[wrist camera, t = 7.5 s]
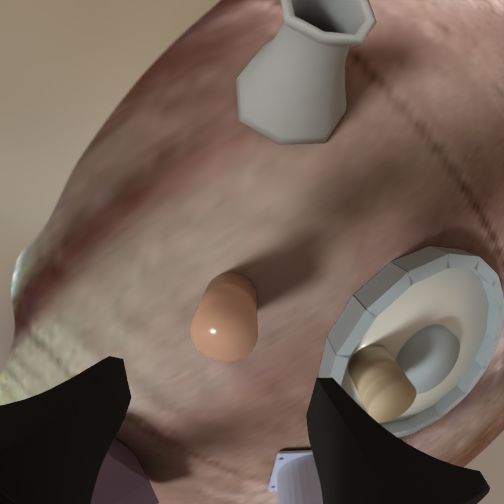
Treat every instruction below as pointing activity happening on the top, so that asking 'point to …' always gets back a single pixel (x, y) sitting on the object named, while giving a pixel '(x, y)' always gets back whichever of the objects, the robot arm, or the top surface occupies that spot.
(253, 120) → the flask
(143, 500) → the flask
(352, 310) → the groove tray
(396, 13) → the top surface
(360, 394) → the tan rounded cylinder
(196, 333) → the peach rounded cylinder
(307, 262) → the top surface
